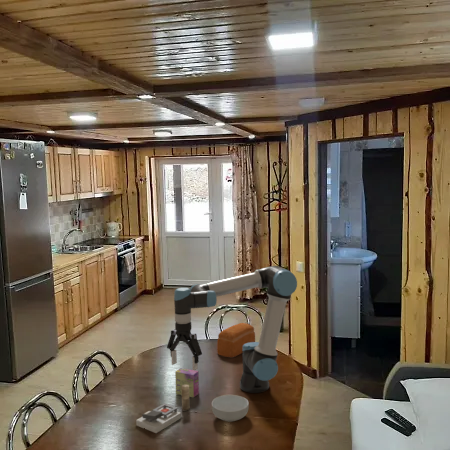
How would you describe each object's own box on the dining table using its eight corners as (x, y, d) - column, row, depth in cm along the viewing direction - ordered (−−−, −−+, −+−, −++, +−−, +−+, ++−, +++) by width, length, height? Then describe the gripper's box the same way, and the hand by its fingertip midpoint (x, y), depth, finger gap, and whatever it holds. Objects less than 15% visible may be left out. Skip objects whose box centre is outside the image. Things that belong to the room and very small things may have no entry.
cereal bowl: (236, 430, 206) (236, 414, 206) (204, 421, 215) (204, 405, 214) (255, 413, 220) (255, 399, 220) (224, 405, 229) (224, 391, 229)
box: (199, 393, 243) (198, 370, 242) (193, 397, 238) (193, 374, 237) (181, 389, 248) (180, 367, 247) (175, 394, 243) (174, 371, 242)
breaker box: (181, 417, 218) (180, 408, 218) (156, 433, 205) (155, 423, 205) (161, 411, 225) (161, 402, 225) (136, 425, 212) (136, 416, 212)
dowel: (191, 408, 227) (190, 385, 226) (186, 411, 224) (185, 388, 223) (185, 406, 229) (184, 383, 228) (180, 409, 227) (179, 386, 226)
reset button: (171, 413, 219) (171, 410, 219) (165, 416, 215) (165, 413, 215) (164, 411, 221) (164, 407, 221) (158, 414, 218) (158, 411, 218)
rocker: (162, 415, 211) (161, 411, 211) (155, 419, 207) (154, 415, 207) (149, 414, 216) (149, 410, 216) (142, 418, 212) (142, 414, 212)
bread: (215, 354, 297) (214, 329, 296) (239, 342, 318) (239, 319, 317) (233, 359, 289) (232, 333, 288) (257, 346, 310) (256, 322, 309)
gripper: (208, 323, 219) (210, 369, 221) (169, 315, 233) (170, 359, 235) (198, 327, 213) (199, 375, 215) (158, 319, 227) (159, 363, 229)
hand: (184, 366), depth 225 cm, fingers open, 12 cm apart
